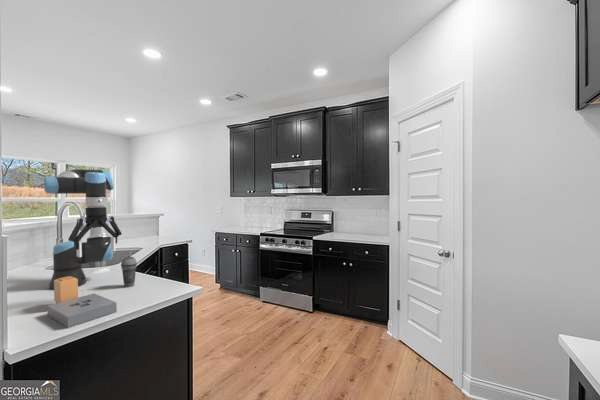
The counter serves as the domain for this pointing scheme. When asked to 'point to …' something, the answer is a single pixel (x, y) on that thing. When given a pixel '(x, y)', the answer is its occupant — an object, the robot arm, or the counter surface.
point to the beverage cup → (129, 270)
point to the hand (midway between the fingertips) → (97, 253)
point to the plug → (65, 289)
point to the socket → (81, 309)
